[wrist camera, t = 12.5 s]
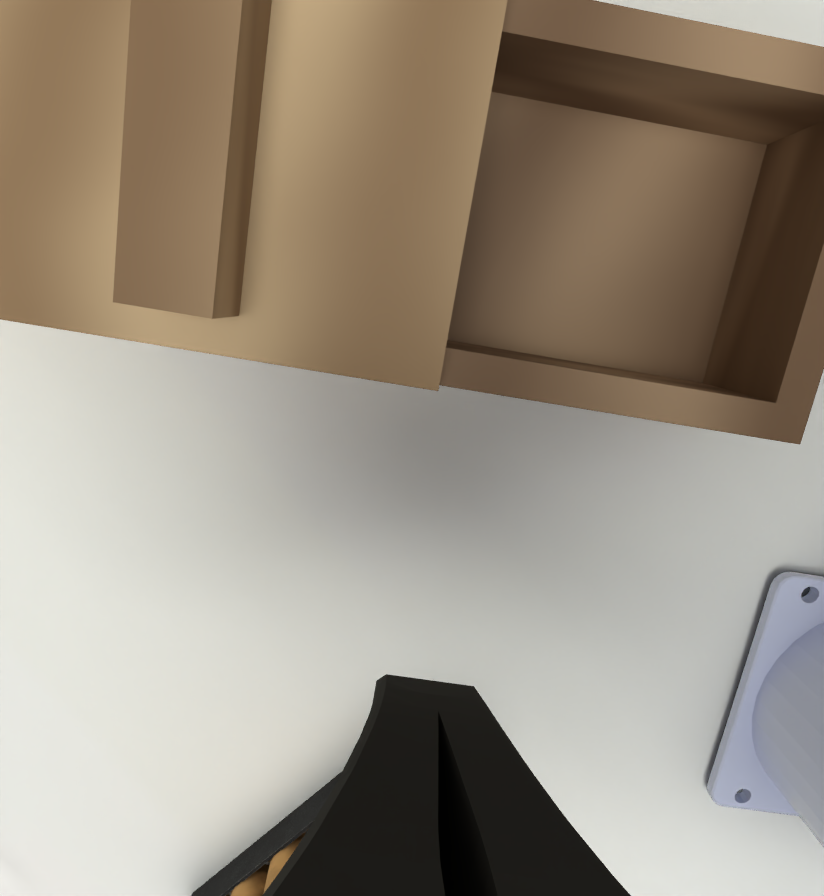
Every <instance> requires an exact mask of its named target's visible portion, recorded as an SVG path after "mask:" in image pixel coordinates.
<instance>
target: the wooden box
mask: <svg viewBox="0 0 824 896" xmlns="http://www.w3.org/2000/svg"><path fill="white" fill-rule="evenodd" d="M823 369H824V47H821V46H816V45H811V44H806V43H801V42H796V41H791V40H786V39H781V38H776V37H772V36H767V35H762V34H757V33H752V32H747V31H742V30H737V29H732V28H727V27H722V26H717V25H712V24H707V23H702V22H698V21H693V20H688V19H683V18H678V17H673V16H668V15H663V14H658V13H653V12H648V11H643V10H638V9H633V8H628V7H624V6H619V5H614V4H609V3H604V2H599V1H594V0H508V1H507V6H506V12H505V17H504V23H503V29H502V34H501V40H500V46H499V51H498V57H497V62H496V68H495V74H494V79H493V85H492V91H491V96H490V102H489V108H488V113H487V119H486V124H485V130H484V136H483V141H482V147H481V153H480V158H479V164H478V170H477V175H476V181H475V186H474V192H473V198H472V203H471V209H470V215H469V220H468V226H467V231H466V237H465V243H464V248H463V254H462V260H461V265H460V271H459V277H458V282H457V288H456V293H455V299H454V305H453V310H452V316H451V322H450V327H449V333H448V339H447V344H446V350H445V355H444V361H443V367H442V372H441V378H440V384H439V385H442V386H448V387H454V388H460V389H466V390H472V391H478V392H484V393H490V394H496V395H502V396H508V397H515V398H521V399H527V400H533V401H539V402H545V403H551V404H557V405H563V406H569V407H575V408H581V409H587V410H594V411H600V412H606V413H612V414H618V415H624V416H630V417H636V418H642V419H648V420H654V421H660V422H666V423H673V424H679V425H685V426H691V427H697V428H703V429H709V430H715V431H721V432H727V433H733V434H739V435H746V436H752V437H758V438H764V439H770V440H776V441H782V442H788V443H794V444H800V443H801V440H802V437H803V433H804V430H805V427H806V424H807V421H808V417H809V414H810V411H811V408H812V405H813V401H814V398H815V395H816V392H817V389H818V385H819V382H820V379H821V376H822V373H823Z"/></svg>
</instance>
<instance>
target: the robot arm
mask: <svg viewBox="0 0 824 896" xmlns="http://www.w3.org/2000/svg"><path fill="white" fill-rule="evenodd" d="M807 587H810V591H809V593H808V594H807V595H805V596H804V597H801V593H802V592H803V590H804V589H806V588H807ZM741 789H743V791H742V792H740V793H737V791H739V790H741ZM707 790H708V793H709V795H710V796H711V798H712V800H713V801H714V802H715V803H716V804H718V805H721V806H725V807H733V808H741V809H748V810H756V811H764V812H772V813H779V814H787V815H795V816H800V818H801V819H802V820H803V821H804V823H805V824H806V825H807V827H808V828H809V829H810V830H811V832H812V833H813V834H814V836H815V837H816V838H817V839H818V841H819V842H820V843H821V845H822V846H823V847H824V577H823V576H817V575H810V574H803V573H797V572H784V573H781V574H779V575H778V576H777V577H776V578H774V580H773V581H772V583H771V585H770V588H769V592H768V595H767V598H766V601H765V604H764V607H763V611H762V614H761V617H760V620H759V623H758V626H757V629H756V633H755V636H754V639H753V642H752V645H751V648H750V651H749V655H748V658H747V661H746V664H745V667H744V670H743V673H742V677H741V680H740V683H739V686H738V689H737V692H736V696H735V699H734V702H733V705H732V708H731V711H730V714H729V718H728V721H727V724H726V727H725V730H724V733H723V736H722V740H721V743H720V746H719V749H718V752H717V755H716V759H715V762H714V765H713V768H712V771H711V774H710V777H709V781H708V784H707ZM736 793H737V794H736ZM262 896H631V895H630V894H629V893H628V892H627V891H626V890H625V889H624V888H623V886H622V885H621V884H620V883H619V882H618V881H617V880H616V878H615V877H614V876H613V875H612V874H611V873H610V872H609V870H608V869H607V868H606V867H605V865H604V864H603V863H602V862H601V861H600V859H599V858H598V857H597V856H596V855H595V853H594V852H593V851H592V850H591V848H590V847H589V846H588V845H587V844H586V842H585V841H584V840H583V839H582V838H581V836H580V835H579V834H578V833H577V831H576V830H575V829H574V828H573V826H572V825H571V824H570V823H569V821H568V820H567V819H566V817H565V816H564V815H563V814H562V812H561V811H560V810H559V808H558V807H557V806H556V804H555V803H554V802H553V800H552V799H551V797H550V796H549V795H548V793H547V792H546V791H545V789H544V788H543V787H542V785H541V784H540V782H539V781H538V780H537V778H536V777H535V776H534V774H533V773H532V771H531V770H530V769H529V767H528V766H527V764H526V763H525V761H524V760H523V759H522V757H521V756H520V754H519V753H518V751H517V750H516V748H515V747H514V745H513V744H512V742H511V741H510V740H509V738H508V737H507V735H506V734H505V732H504V731H503V729H502V728H501V726H500V725H499V723H498V722H497V720H496V719H495V717H494V716H493V714H492V712H491V711H490V709H489V708H488V706H487V705H486V703H485V702H484V700H483V699H482V698H481V696H480V695H479V693H478V692H477V690H476V689H475V687H474V686H467V685H459V684H452V683H445V682H437V681H430V680H423V679H416V678H408V677H401V676H394V675H385V676H383V677H382V678H380V679H379V680H377V681H376V687H375V693H374V699H373V704H372V708H371V711H370V714H369V716H368V719H367V721H366V724H365V726H364V729H363V731H362V733H361V736H360V738H359V740H358V742H357V744H356V746H355V748H354V750H353V752H352V754H351V756H350V758H349V760H348V762H347V764H346V766H345V768H344V770H343V772H342V774H341V776H340V777H339V779H338V781H337V783H336V785H335V786H334V788H333V790H332V791H331V793H330V795H329V796H328V798H327V799H326V801H325V803H324V804H323V806H322V808H321V809H320V811H319V813H318V814H317V816H316V818H315V819H314V821H313V823H312V824H311V826H310V828H309V829H308V831H307V832H306V834H305V835H304V837H303V838H302V840H301V841H300V843H299V844H298V846H297V847H296V849H295V850H294V852H293V853H292V855H291V856H290V858H289V859H288V861H287V862H286V863H285V865H284V866H283V868H282V869H281V871H280V872H279V873H278V875H277V876H276V877H275V879H274V880H273V881H272V883H271V884H270V886H269V887H268V888H267V890H266V891H265V892H264V894H263V895H262Z"/></svg>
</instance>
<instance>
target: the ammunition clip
mask: <svg viewBox="0 0 824 896" xmlns="http://www.w3.org/2000/svg"><path fill="white" fill-rule="evenodd" d="M342 772H343V771H342ZM342 772H341V773H340V774H338V775H337V776H336V777H335V778H333V779H332V780H331V781H330V782H329V783H327V784H326V785H325V786H324V787H322V788H321V789H320V790H319V791H318V792H316V793H315V794H314V795H313V796H311V797H310V798H309V799H308V800H306V801H305V802H304V803H303V804H302V805H300V806H299V807H298V808H297V809H295V810H294V811H293V812H292V813H290V814H289V815H288V816H287V817H286V818H284V819H283V820H282V821H281V822H279V823H278V824H277V825H276V826H274V827H273V828H272V829H271V830H270V831H268V832H267V833H266V834H265V835H263V836H262V837H261V838H260V839H259V840H257V841H256V842H255V843H254V844H252V845H251V846H250V847H249V848H247V849H246V850H245V851H244V852H243V853H241V854H240V855H239V856H238V857H236V858H235V859H234V860H233V861H231V862H230V863H229V864H228V865H227V866H225V867H224V868H223V869H222V870H220V871H219V872H218V873H217V874H215V875H214V876H213V877H212V878H211V879H209V880H208V881H207V882H206V883H204V884H203V885H202V886H201V887H200V888H198V889H197V890H196V891H195V892H193V894H192V896H262V895H263V894H264V892H265V891H266V890H267V888H268V887H269V886H270V884H271V883H272V881H273V880H274V879H275V877H276V876H277V875H278V873H279V872H280V871H281V869H282V868H283V866H284V865H285V863H286V862H287V861H288V859H289V858H290V856H291V855H292V853H293V852H294V850H295V849H296V847H297V846H298V844H299V843H300V841H301V840H302V838H303V837H304V835H305V834H306V832H307V831H308V829H309V828H310V826H311V824H312V823H313V821H314V819H315V818H316V816H317V814H318V813H319V811H320V809H321V808H322V806H323V804H324V803H325V801H326V799H327V798H328V796H329V795H330V793H331V791H332V790H333V788H334V786H335V785H336V783H337V781H338V779H339V777H340V776H341V774H342Z"/></svg>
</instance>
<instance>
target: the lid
mask: <svg viewBox="0 0 824 896" xmlns="http://www.w3.org/2000/svg"><path fill="white" fill-rule="evenodd" d="M507 1H508V0H0V319H2V320H8V321H14V322H20V323H26V324H32V325H38V326H44V327H51V328H57V329H63V330H69V331H75V332H81V333H87V334H93V335H99V336H105V337H112V338H118V339H124V340H130V341H136V342H142V343H148V344H154V345H160V346H166V347H173V348H179V349H185V350H191V351H197V352H203V353H209V354H215V355H221V356H227V357H234V358H240V359H246V360H252V361H258V362H264V363H270V364H276V365H282V366H288V367H295V368H301V369H307V370H313V371H319V372H325V373H331V374H337V375H343V376H349V377H356V378H362V379H368V380H374V381H380V382H386V383H392V384H398V385H404V386H410V387H417V388H423V389H429V390H435V391H438V389H439V384H440V378H441V372H442V367H443V361H444V355H445V350H446V344H447V339H448V333H449V327H450V322H451V316H452V310H453V305H454V299H455V293H456V288H457V282H458V277H459V271H460V265H461V260H462V254H463V248H464V243H465V237H466V231H467V226H468V220H469V215H470V209H471V203H472V198H473V192H474V186H475V181H476V175H477V170H478V164H479V158H480V153H481V147H482V141H483V136H484V130H485V124H486V119H487V113H488V108H489V102H490V96H491V91H492V85H493V79H494V74H495V68H496V62H497V57H498V51H499V46H500V40H501V34H502V29H503V23H504V17H505V12H506V6H507Z"/></svg>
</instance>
